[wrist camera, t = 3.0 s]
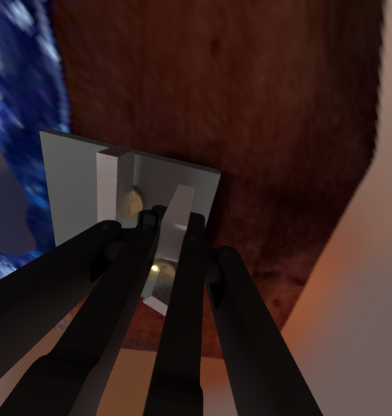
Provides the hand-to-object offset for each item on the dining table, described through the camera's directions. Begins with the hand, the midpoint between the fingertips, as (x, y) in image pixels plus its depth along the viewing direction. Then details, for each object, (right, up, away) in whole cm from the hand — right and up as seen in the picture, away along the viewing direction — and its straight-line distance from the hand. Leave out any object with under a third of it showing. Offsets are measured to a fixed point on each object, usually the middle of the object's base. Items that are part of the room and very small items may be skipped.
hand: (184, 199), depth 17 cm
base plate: (-9, -4, +12) cm, 15 cm away
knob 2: (-2, -12, +13) cm, 17 cm away
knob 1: (-7, +2, +6) cm, 9 cm away
